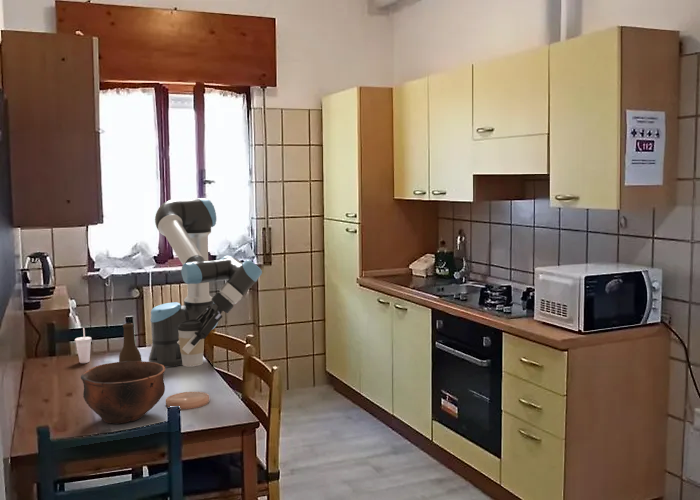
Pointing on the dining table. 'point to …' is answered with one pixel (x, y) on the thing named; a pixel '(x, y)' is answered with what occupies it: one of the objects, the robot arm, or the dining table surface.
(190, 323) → the coffee cup
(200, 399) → the saucer
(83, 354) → the smoothie
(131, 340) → the beer bottle
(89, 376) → the bowl
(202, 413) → the dining table surface
